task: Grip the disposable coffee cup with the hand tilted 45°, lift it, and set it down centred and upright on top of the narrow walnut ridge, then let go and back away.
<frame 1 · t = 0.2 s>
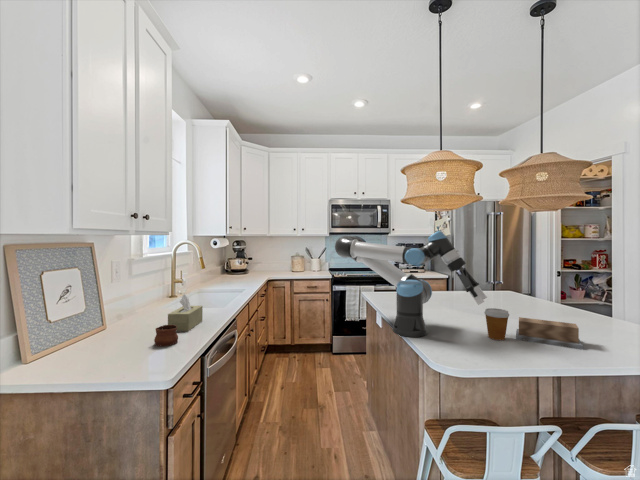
hand: (483, 301, 137), 15 cm above the worktop, tool tilted 35°, fingers open, 13 cm apart
tissue box: (186, 326, 152), on the worktop
disposable coffee cup: (496, 338, 134), on the worktop
ceramic pot: (166, 344, 126), on the worktop
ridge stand: (546, 340, 131), on the worktop
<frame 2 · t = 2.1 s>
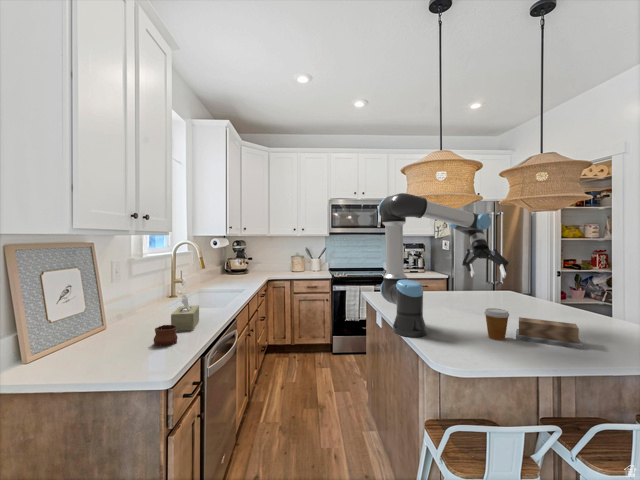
hand: (488, 276, 144), 26 cm above the worktop, tool tilted 45°, fingers open, 13 cm apart
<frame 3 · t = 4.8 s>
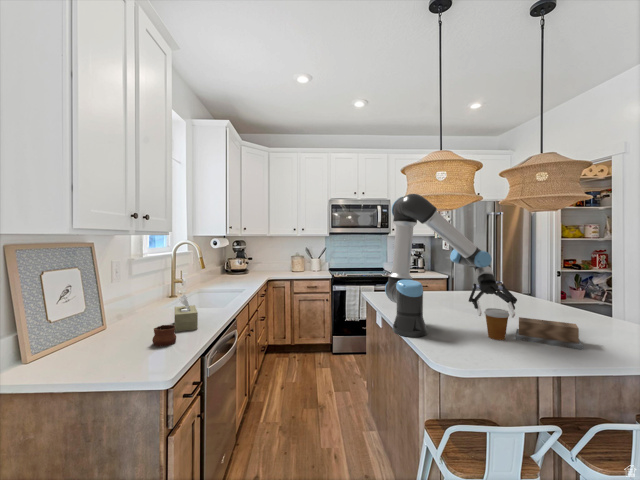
hand: (496, 315, 138), 9 cm above the worktop, tool tilted 45°, fingers open, 13 cm apart
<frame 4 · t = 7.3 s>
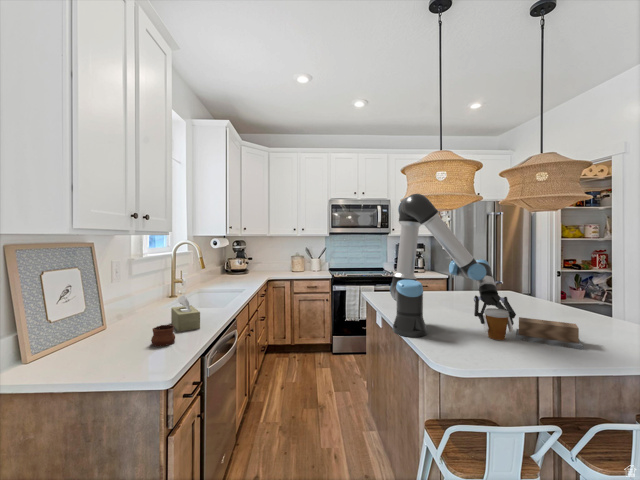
hand: (499, 330, 131), 4 cm above the worktop, tool tilted 45°, fingers closed on disposable coffee cup, 9 cm apart
disposable coffee cup: (496, 338, 134), on the worktop, touching gripper
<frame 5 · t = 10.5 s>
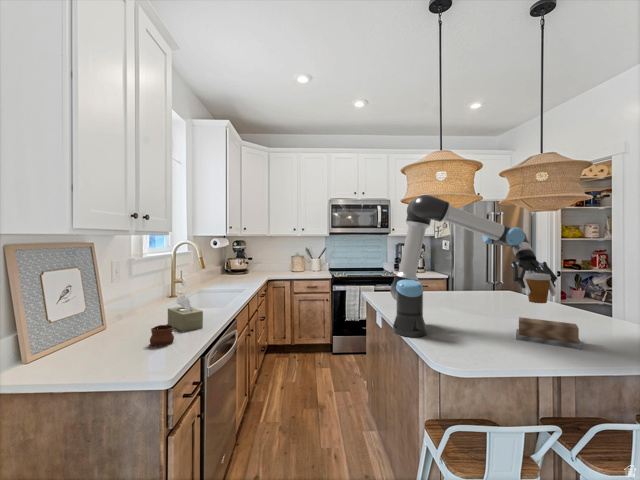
hand: (541, 294, 129), 20 cm above the worktop, tool tilted 45°, fingers closed on disposable coffee cup, 9 cm apart
disposable coffee cup: (537, 302, 132), point 16 cm above the worktop, touching gripper
when the fingers open (13 cm above the worktop, at t = 13.7 s): disposable coffee cup drops 1 cm, resting on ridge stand.
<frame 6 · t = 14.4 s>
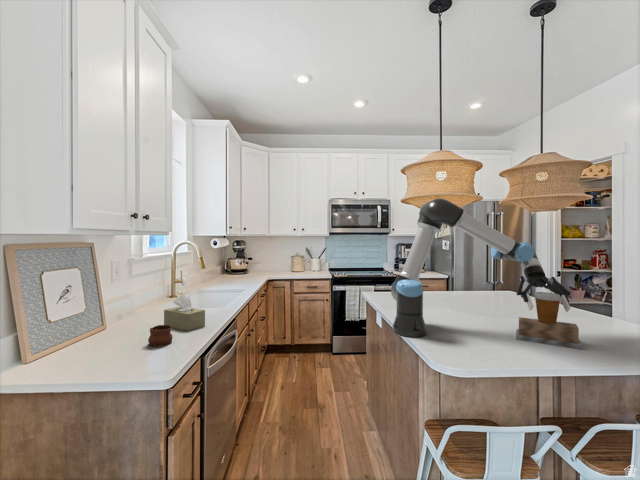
hand: (549, 309, 129), 14 cm above the worktop, tool tilted 45°, fingers open, 13 cm apart
disposable coffee cup: (547, 322, 132), point 7 cm above the worktop, touching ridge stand
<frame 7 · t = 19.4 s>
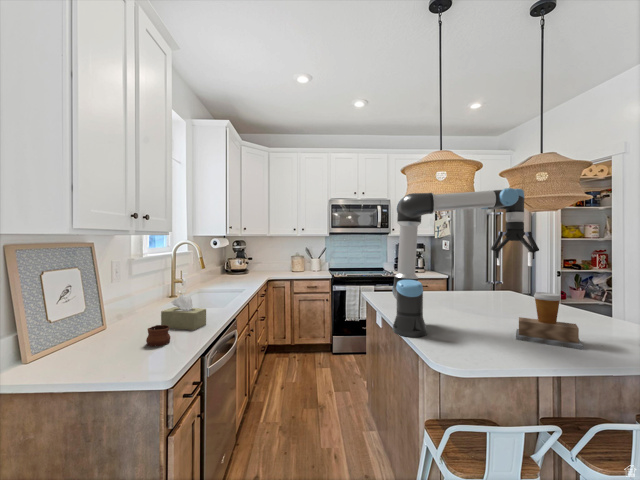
hand: (514, 265, 148), 30 cm above the worktop, tool pointing down, fingers open, 13 cm apart
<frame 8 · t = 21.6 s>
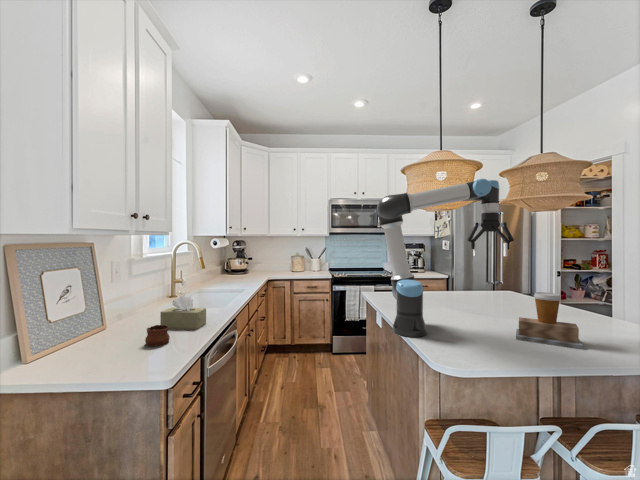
hand: (490, 256, 150), 35 cm above the worktop, tool pointing down, fingers open, 13 cm apart
at the end: disposable coffee cup inside the target area on the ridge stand (1.0 cm from its centre), point 7.3 cm above the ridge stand's base; disposable coffee cup tilted 0°; the gripper is holding nothing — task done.
